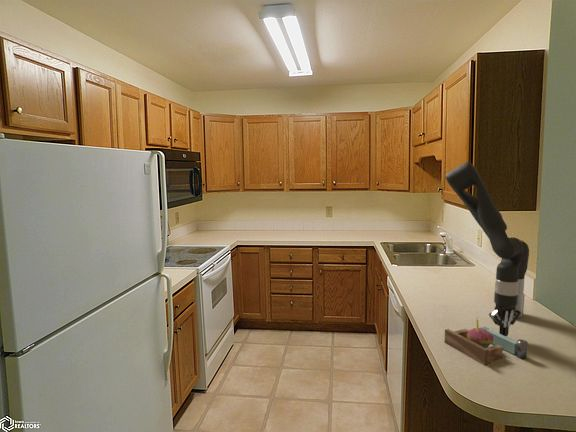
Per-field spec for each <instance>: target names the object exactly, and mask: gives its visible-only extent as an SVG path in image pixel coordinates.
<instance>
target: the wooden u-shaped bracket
mask: <svg viewBox="0 0 576 432" xmlns="http://www.w3.org/2000/svg"><path fill="white" fill-rule="evenodd" d="M469 330H470V329H467V328H463V329H459V330H454V331H453V330H452V329H449V328H446V329H444V344H446V345H449V346H450V347H452V348H454V349H455V350H457V351H459V352H460V353H462V354H464V355H466V356H468V357H470V358H472V359H473V360H475V361H476V362H478V363H480V364H482V365H483V366H486V365H488V364H489V362H493V361H497V360H501V359H503V354H504V353H503V352H504V349H503V347H502V346H500V345H492V346H489V347H487V348H484V347H482V346H480V345H478V344H477V343H475V342H473V341H471V340H469V339H468V338H467V332H468V331H469Z"/></svg>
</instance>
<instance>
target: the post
mask: <svg viewBox="0 0 576 432" xmlns="http://www.w3.org/2000/svg"><path fill="white" fill-rule="evenodd" d="M528 345H529V341H527V340H524V339H517V353H516V357H517V358H518V359H520V360H527V359H528V347H529V346H528Z"/></svg>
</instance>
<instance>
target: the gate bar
mask: <svg viewBox="0 0 576 432" xmlns="http://www.w3.org/2000/svg"><path fill="white" fill-rule="evenodd" d="M480 328H481V329H485V330H487V331H488V332H489V333H491V334H492V336H493V343H491V344H493V346H495V345H500V346H502V347H503V351H504V350H505V351H506V352H509V353H510V354H513V355H517V341H518V340H517V341H516V340H514V339H512V338H510V337H508V336H504V335H501V334H500V333H499V332H497V331H494V330H493V329H490V328H489V327H487V326H481V327H480Z"/></svg>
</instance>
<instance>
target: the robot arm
mask: <svg viewBox="0 0 576 432" xmlns="http://www.w3.org/2000/svg"><path fill="white" fill-rule="evenodd" d="M445 180H446V183H448V185H449V186H450V188H451V189H452V191H453V192H454V193H455V194H456V195H457V196H458V197H459V199H460V200H461V201H462V202H463V204H464V205H465V206H466V208H467V209H468V211H469V213H470V214H471V216H472V217H473V218H474V220H475V221H476V223H477V224H478V225H479V227H481V229H482V231H483V232H484V233H485V235H486V237H487V238H488V239H489V242H490V243H489V244H490V246H491V248H492V251H493V252H494V253H495V255H497V257H499V258H500V259H501V261H500V262H499V263H498V264H497V265H496V266H497V267H496V271H495V273H496V274H495V282H494V295H493V296H494V297H493V302H494V303H495V306H494V311H492V312H489V313H488V316H489V317H490V318H491V320H492V321H493V324H494V325H497V326H499V330H498V333H499V334H501V335H504V336H506V337H508V335H509V330H510V329H509V328H510V327H511V326H513V325H515V323H516V321H517V319H521V318H523V316H524V313H525V312H524V311H525V309H524V308H525V296H526V295H525V293H524V291H525V276H526V273H527V270H528V265H529V259H530V258H529V257H530V248H529V245H528V244H527V243H526V242H525V241H522V240H520V239H519V238H516V237H508V234H507V232H506V231H507V229H508V225H507V223H506V222H505V221H504V219H503V215H502V214H501V212H500V210H499V209H498V208H497V206H496V205H495V204H494V202H493V200H492V197H491V195H490V193H489V190H488V189H487V186H486V184H485V183H484V180H483V179H482V177H481V175H480V173H479V172H478V170H477V168H476V167H475V166H474V165H473V163H471V162H470V161H469V162H468V161H467V162H464V163H463V164H460V165H458V166H456V167H455V168H453V169H452V170H450V171H448V172H447V173H446V174H445ZM472 186H475V188H476V191H477V196H475V195H473V194H471V193H469V192H468V191H466V190H467V189H469V188H472Z"/></svg>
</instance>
